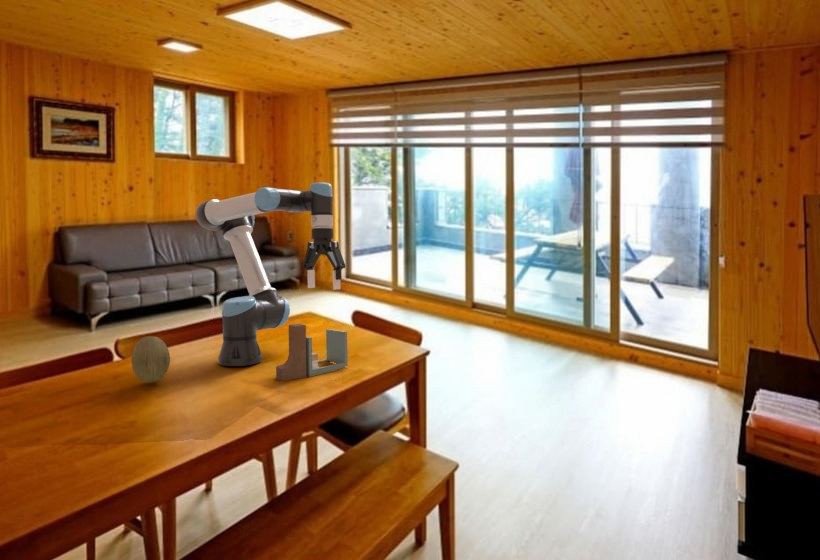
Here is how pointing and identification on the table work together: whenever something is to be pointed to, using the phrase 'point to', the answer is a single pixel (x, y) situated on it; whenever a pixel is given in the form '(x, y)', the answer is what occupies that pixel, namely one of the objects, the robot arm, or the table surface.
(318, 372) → the rack
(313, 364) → the offcut mid
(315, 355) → the offcut top
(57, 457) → the table surface
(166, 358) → the fruit
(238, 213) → the robot arm
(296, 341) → the wooden block
